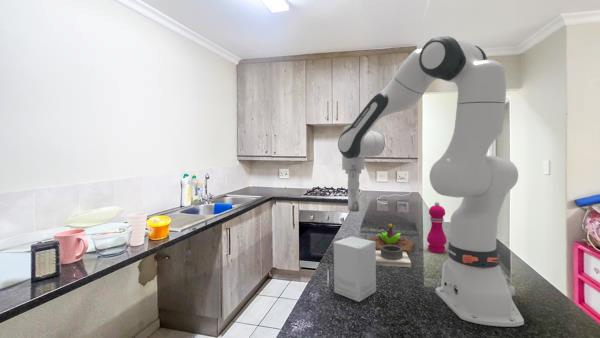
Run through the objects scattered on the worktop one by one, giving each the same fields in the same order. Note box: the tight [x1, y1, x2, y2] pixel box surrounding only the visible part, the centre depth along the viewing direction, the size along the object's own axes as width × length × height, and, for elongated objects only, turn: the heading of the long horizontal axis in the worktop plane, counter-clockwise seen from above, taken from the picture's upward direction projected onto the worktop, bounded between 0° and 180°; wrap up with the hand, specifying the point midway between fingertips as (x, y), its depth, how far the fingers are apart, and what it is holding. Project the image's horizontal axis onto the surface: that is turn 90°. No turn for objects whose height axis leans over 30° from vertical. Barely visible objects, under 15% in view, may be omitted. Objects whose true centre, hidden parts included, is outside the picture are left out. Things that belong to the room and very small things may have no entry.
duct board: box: [376, 245, 412, 268], centre depth 113 cm, size 12×12×4 cm
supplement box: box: [333, 235, 377, 303], centre depth 88 cm, size 9×9×15 cm
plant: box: [367, 222, 416, 256], centre depth 128 cm, size 20×20×11 cm
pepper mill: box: [426, 201, 448, 254], centre depth 122 cm, size 7×7×20 cm
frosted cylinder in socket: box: [347, 180, 360, 213], centre depth 122 cm, size 5×5×12 cm
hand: (353, 199), depth 122 cm, fingers closed on frosted cylinder in socket, 4 cm apart
